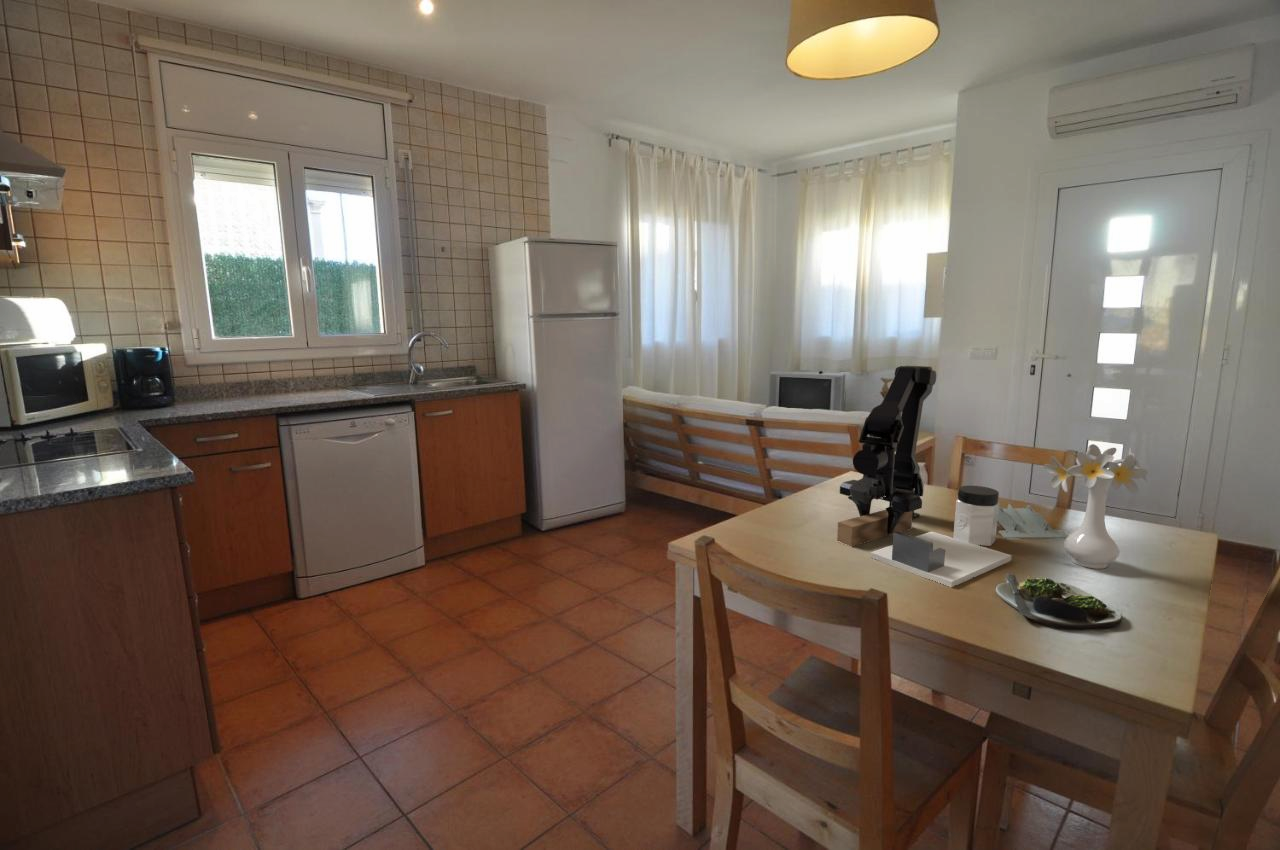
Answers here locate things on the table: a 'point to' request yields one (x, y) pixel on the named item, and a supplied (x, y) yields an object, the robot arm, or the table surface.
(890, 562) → the mounting board
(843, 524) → the walnut rail
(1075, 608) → the salad plate
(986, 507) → the jar
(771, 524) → the table surface
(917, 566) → the bracket
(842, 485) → the robot arm
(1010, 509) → the pale green slanted stand
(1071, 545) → the flower vase
